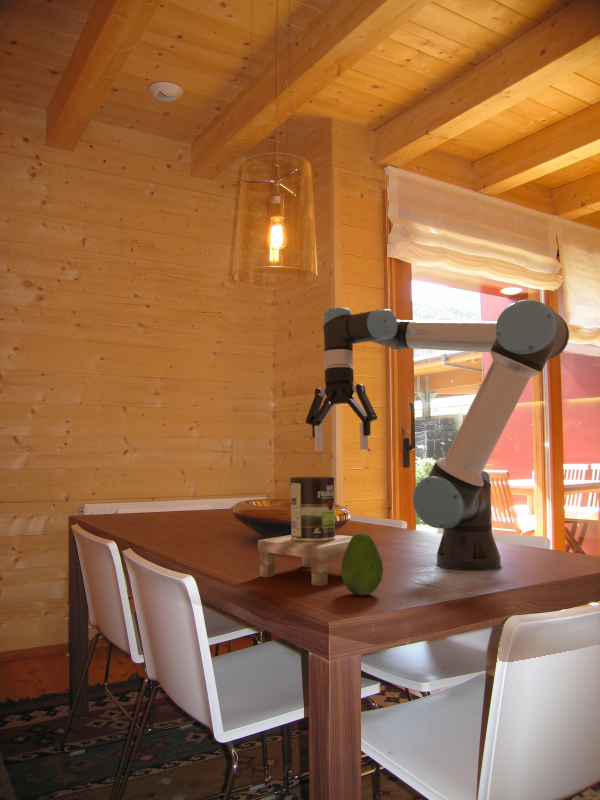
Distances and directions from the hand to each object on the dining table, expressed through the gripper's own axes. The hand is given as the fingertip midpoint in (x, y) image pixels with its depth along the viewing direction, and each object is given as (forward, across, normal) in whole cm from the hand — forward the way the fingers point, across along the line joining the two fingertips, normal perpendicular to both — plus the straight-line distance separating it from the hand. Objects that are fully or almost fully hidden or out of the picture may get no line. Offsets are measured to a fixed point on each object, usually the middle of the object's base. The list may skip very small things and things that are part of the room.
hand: (341, 450), depth 157 cm
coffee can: (+21, -2, +16) cm, 26 cm away
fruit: (+29, -21, +28) cm, 46 cm away
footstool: (+28, -2, +17) cm, 33 cm away
